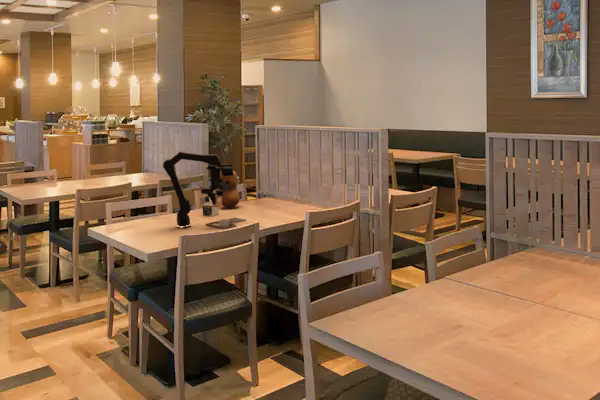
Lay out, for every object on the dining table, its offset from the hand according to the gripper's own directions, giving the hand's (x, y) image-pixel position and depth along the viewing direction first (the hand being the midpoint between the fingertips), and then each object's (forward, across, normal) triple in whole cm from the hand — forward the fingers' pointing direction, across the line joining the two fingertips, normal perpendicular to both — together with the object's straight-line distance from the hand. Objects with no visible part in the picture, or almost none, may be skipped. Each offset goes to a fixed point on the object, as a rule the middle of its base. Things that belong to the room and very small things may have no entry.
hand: (217, 203), depth 340 cm
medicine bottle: (+12, +19, +24) cm, 33 cm away
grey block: (+12, -2, -7) cm, 14 cm away
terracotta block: (+2, 0, 0) cm, 2 cm away
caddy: (+12, -2, -3) cm, 13 cm away
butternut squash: (+12, +42, +30) cm, 53 cm away
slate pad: (+12, +12, -1) cm, 17 cm away
